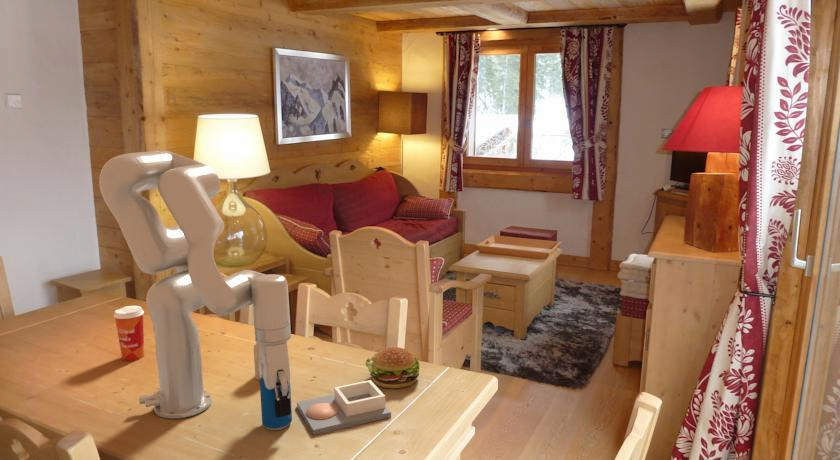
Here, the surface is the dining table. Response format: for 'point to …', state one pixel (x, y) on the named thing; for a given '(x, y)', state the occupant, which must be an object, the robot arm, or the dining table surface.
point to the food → (393, 367)
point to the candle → (256, 361)
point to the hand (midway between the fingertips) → (278, 405)
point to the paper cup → (130, 332)
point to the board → (345, 407)
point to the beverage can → (272, 408)
